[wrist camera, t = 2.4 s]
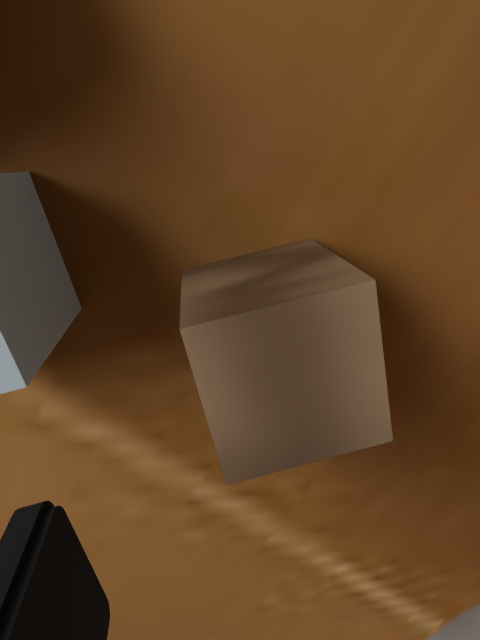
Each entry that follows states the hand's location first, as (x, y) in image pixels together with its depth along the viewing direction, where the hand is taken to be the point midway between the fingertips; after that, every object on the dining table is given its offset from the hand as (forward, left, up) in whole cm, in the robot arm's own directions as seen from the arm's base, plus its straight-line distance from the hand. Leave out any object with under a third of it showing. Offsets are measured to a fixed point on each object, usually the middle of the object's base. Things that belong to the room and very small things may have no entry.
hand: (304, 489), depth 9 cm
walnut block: (-1, 0, -9) cm, 9 cm away
